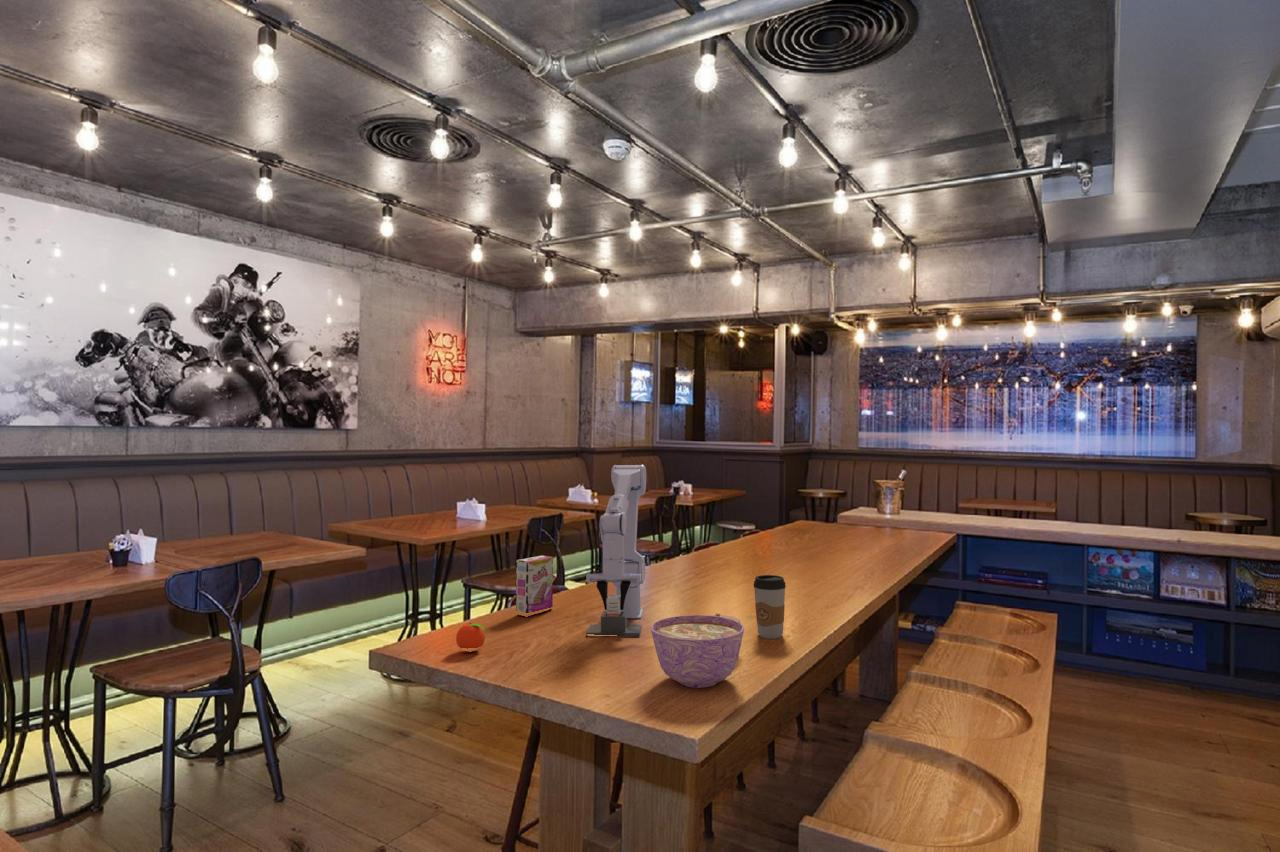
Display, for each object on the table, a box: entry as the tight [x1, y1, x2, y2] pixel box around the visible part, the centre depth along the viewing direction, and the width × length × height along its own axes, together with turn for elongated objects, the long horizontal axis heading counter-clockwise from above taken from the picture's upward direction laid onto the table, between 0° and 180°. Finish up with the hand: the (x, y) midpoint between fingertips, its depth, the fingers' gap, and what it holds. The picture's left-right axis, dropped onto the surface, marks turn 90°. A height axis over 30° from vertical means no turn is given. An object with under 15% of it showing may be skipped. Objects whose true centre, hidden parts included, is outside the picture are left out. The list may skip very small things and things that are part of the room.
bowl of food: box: [650, 614, 745, 689], centre depth 151 cm, size 20×20×12 cm
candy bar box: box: [515, 555, 554, 613], centre depth 212 cm, size 11×5×16 cm, turn 144°
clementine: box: [455, 622, 488, 649], centre depth 174 cm, size 8×7×7 cm
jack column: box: [606, 594, 622, 616], centre depth 189 cm, size 4×4×8 cm
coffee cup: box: [753, 574, 787, 640], centre depth 184 cm, size 8×8×15 cm
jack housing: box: [585, 610, 643, 638], centre depth 189 cm, size 8×14×5 cm, turn 86°
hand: (614, 609), depth 189 cm, fingers closed on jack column, 4 cm apart
